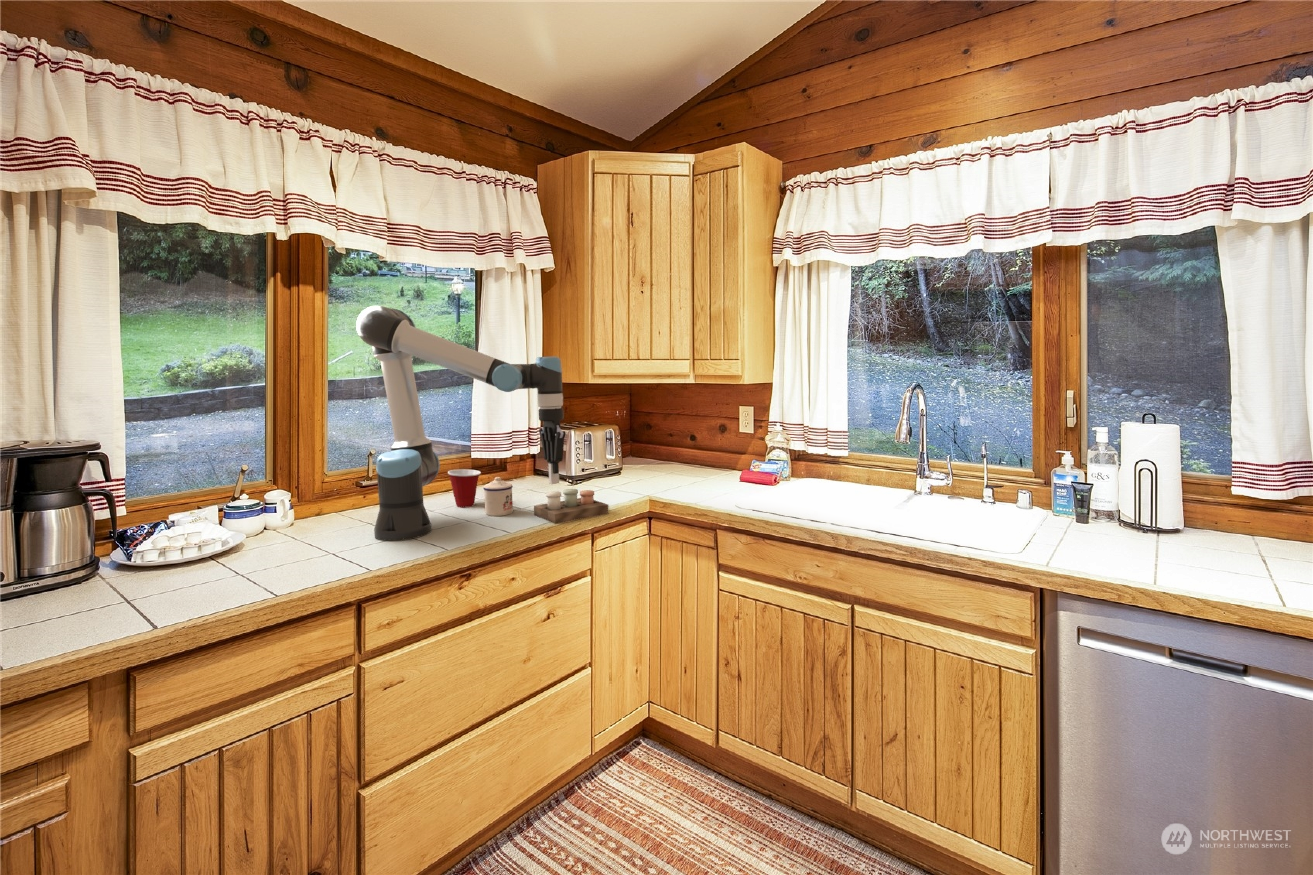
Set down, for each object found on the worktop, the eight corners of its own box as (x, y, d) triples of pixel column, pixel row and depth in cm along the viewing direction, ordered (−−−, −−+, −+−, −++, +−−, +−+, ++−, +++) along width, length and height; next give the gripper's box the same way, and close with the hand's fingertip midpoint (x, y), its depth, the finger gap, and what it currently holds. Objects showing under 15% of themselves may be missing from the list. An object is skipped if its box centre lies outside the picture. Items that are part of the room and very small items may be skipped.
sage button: (568, 508, 192) (567, 492, 191) (561, 506, 196) (560, 490, 195) (581, 506, 195) (580, 490, 194) (573, 504, 199) (573, 488, 198)
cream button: (551, 511, 188) (550, 495, 188) (544, 509, 192) (543, 492, 191) (564, 509, 191) (563, 493, 191) (557, 506, 195) (556, 490, 194)
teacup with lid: (508, 516, 194) (507, 480, 193) (480, 516, 195) (478, 480, 193) (519, 507, 206) (518, 473, 204) (492, 507, 206) (491, 473, 205)
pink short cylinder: (585, 509, 196) (584, 493, 195) (577, 507, 200) (577, 491, 199) (597, 507, 199) (596, 491, 198) (589, 505, 202) (589, 489, 202)
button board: (555, 523, 184) (554, 514, 184) (534, 515, 195) (533, 505, 195) (608, 513, 196) (608, 504, 195) (585, 505, 207) (585, 497, 206)
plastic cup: (478, 508, 205) (477, 473, 203) (445, 509, 204) (443, 474, 202) (485, 501, 215) (484, 467, 214) (454, 502, 215) (452, 468, 213)
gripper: (572, 407, 185) (575, 484, 188) (551, 405, 195) (555, 478, 198) (549, 409, 180) (553, 488, 183) (530, 407, 191) (533, 482, 194)
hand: (554, 483), depth 191 cm, fingers closed
